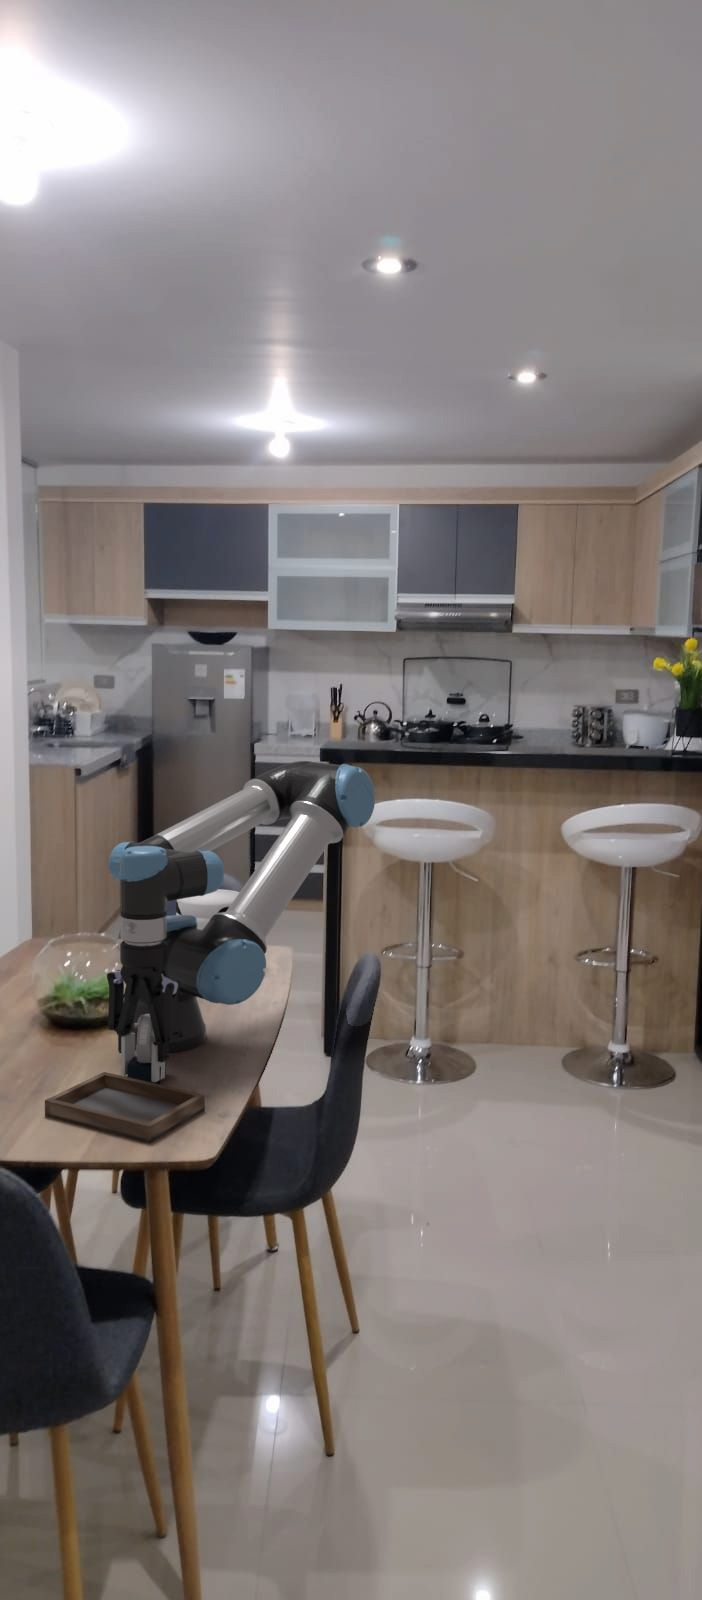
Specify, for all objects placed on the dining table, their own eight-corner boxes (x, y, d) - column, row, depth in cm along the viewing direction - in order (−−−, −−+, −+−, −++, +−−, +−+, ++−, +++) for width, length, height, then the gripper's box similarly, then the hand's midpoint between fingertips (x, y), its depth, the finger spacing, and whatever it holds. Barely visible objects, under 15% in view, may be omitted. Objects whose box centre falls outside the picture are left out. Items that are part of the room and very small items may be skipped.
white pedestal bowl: (170, 965, 261) (170, 888, 259) (245, 962, 264) (245, 887, 262) (173, 986, 244) (173, 904, 242) (253, 983, 247) (254, 902, 245)
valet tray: (104, 1087, 185) (104, 1071, 185) (204, 1110, 176) (204, 1094, 176) (44, 1116, 173) (44, 1100, 173) (149, 1143, 164) (149, 1126, 164)
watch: (168, 1071, 193) (170, 1009, 192) (157, 1089, 185) (159, 1024, 184) (135, 1069, 193) (137, 1007, 192) (124, 1086, 185) (126, 1022, 184)
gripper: (84, 937, 186) (84, 1072, 189) (175, 953, 178) (175, 1093, 181) (113, 928, 193) (113, 1059, 196) (203, 943, 185) (201, 1079, 187)
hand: (143, 1075), depth 188 cm, fingers closed on watch, 6 cm apart
